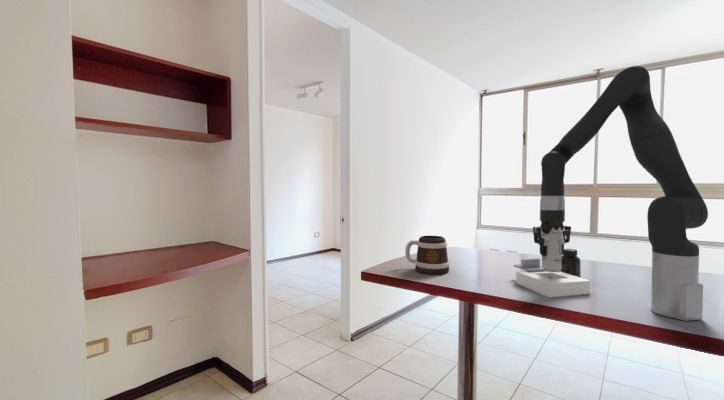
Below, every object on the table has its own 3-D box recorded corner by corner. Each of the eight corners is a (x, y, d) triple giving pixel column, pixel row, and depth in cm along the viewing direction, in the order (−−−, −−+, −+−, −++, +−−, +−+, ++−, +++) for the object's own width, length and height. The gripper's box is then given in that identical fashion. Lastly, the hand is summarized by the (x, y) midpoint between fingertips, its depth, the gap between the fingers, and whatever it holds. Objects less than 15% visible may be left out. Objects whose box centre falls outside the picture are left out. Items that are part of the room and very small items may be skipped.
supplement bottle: (574, 277, 123) (574, 248, 122) (584, 283, 116) (585, 251, 115) (555, 277, 123) (556, 248, 123) (565, 282, 116) (565, 251, 116)
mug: (452, 268, 139) (452, 235, 138) (445, 277, 125) (445, 240, 125) (410, 264, 148) (410, 233, 148) (399, 271, 135) (399, 237, 134)
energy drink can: (559, 273, 106) (560, 230, 105) (540, 270, 110) (540, 229, 109) (562, 270, 110) (563, 228, 110) (543, 267, 114) (544, 227, 114)
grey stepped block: (548, 270, 116) (548, 260, 116) (528, 271, 115) (529, 261, 114) (532, 265, 124) (532, 256, 124) (513, 266, 123) (513, 257, 123)
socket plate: (590, 293, 103) (590, 280, 103) (549, 297, 100) (549, 283, 100) (552, 280, 119) (552, 269, 119) (516, 283, 116) (516, 271, 116)
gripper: (560, 207, 114) (560, 252, 115) (526, 208, 112) (526, 254, 112) (578, 208, 107) (578, 256, 107) (542, 209, 104) (542, 258, 105)
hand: (551, 255), depth 110 cm, fingers closed on energy drink can, 6 cm apart
